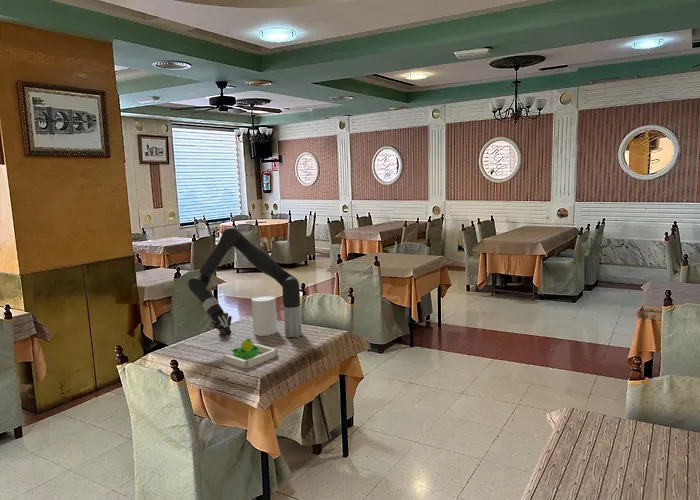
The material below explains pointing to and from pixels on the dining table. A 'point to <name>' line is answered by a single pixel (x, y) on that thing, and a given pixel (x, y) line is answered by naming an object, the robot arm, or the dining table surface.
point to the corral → (245, 364)
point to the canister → (264, 315)
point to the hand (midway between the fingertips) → (229, 334)
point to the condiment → (223, 331)
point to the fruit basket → (246, 350)
